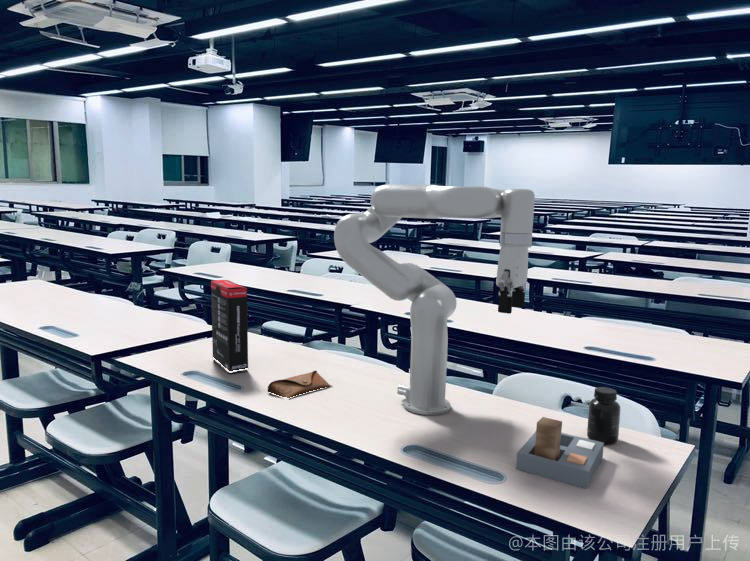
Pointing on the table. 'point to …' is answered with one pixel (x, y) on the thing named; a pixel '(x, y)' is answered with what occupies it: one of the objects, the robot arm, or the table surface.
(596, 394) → the supplement bottle
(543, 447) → the plug
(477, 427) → the table surface
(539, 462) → the socket block
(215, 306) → the graphics card box
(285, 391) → the sunglasses case
